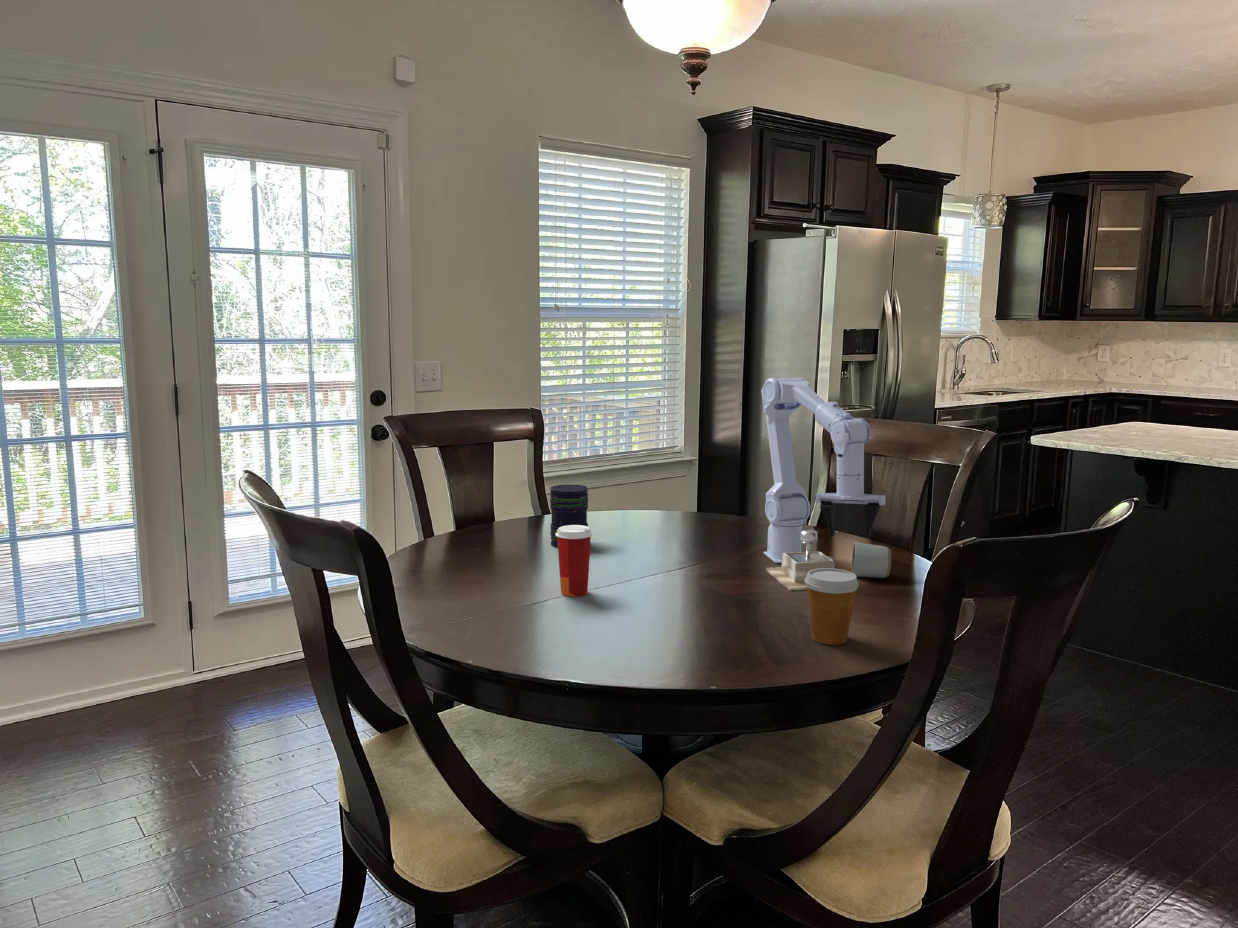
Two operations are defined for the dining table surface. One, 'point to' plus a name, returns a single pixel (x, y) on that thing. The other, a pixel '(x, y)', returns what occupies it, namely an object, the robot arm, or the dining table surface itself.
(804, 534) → the plunger
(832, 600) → the disposable coffee cup
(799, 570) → the base
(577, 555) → the paper cup
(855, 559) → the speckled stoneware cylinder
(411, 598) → the dining table surface
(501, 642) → the dining table surface
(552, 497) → the storage jar
